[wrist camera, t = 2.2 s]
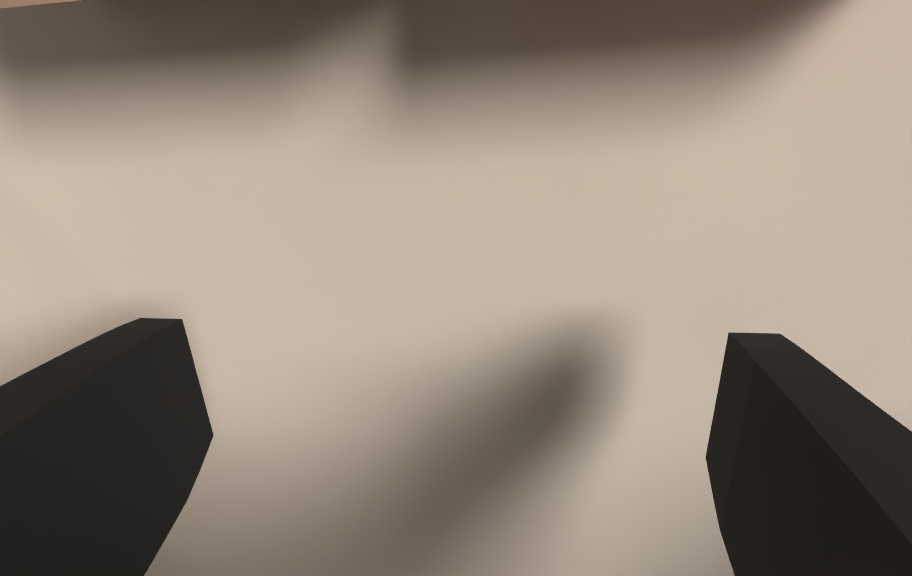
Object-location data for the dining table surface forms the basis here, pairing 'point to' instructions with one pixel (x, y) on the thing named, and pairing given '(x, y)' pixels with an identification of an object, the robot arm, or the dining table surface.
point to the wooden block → (28, 2)
